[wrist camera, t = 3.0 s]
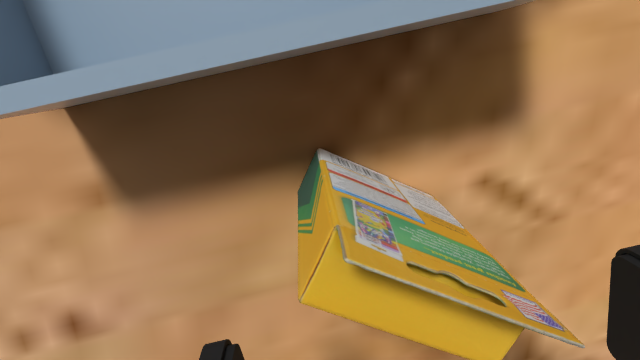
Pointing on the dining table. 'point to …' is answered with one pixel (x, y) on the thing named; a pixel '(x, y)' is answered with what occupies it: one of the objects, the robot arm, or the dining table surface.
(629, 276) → the robot arm
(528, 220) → the dining table surface
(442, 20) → the tote
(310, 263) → the crayon box
